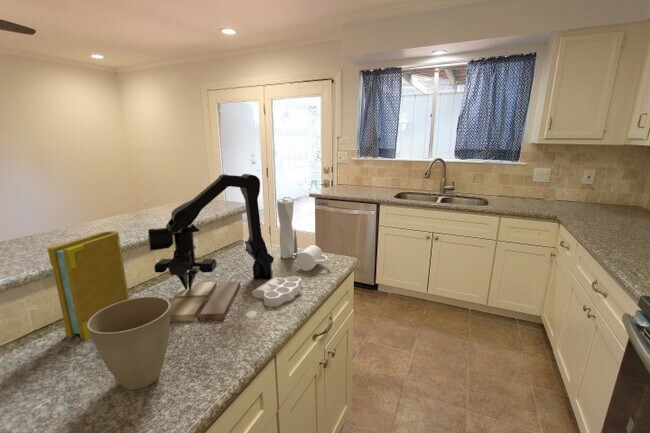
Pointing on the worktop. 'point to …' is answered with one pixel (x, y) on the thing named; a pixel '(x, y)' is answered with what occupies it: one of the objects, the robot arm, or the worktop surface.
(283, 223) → the skyscraper
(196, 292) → the oak plank right
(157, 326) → the plant pot
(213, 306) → the walnut board
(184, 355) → the worktop surface
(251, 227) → the robot arm
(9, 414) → the worktop surface
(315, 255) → the mug
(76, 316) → the book
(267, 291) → the white honeycomb tray
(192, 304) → the oak plank left
